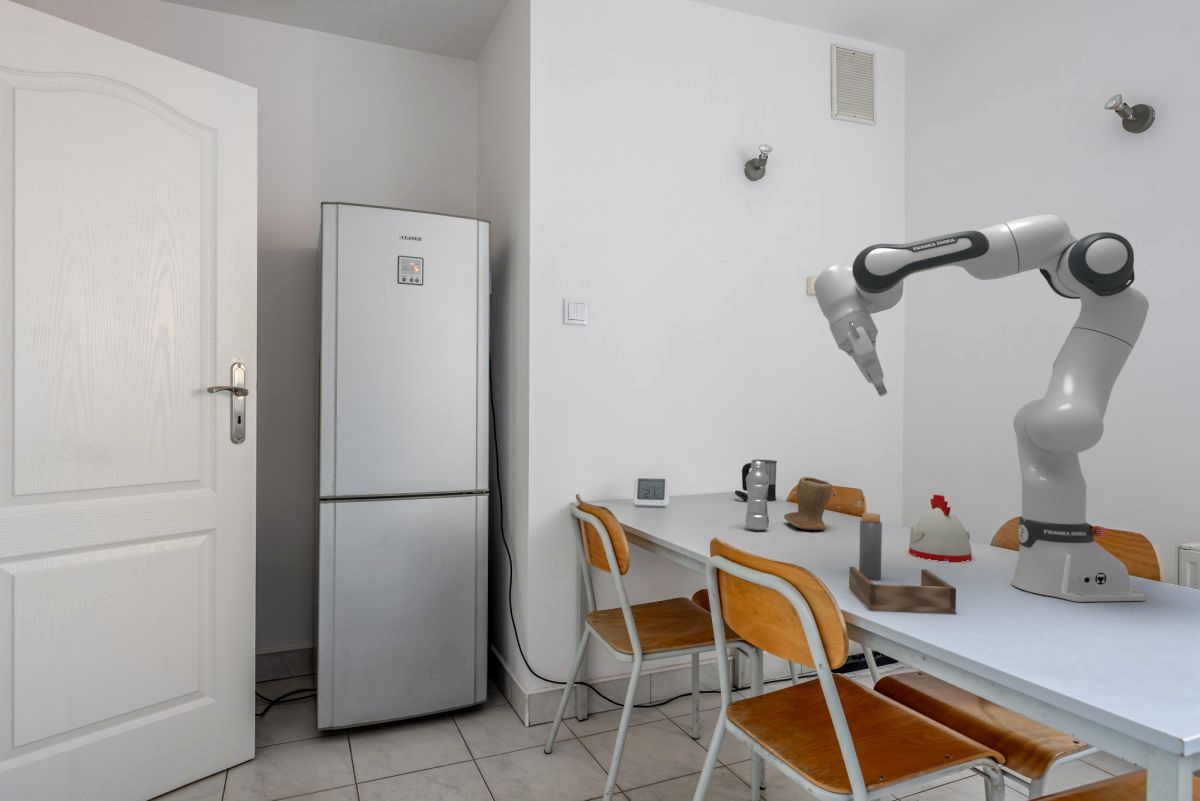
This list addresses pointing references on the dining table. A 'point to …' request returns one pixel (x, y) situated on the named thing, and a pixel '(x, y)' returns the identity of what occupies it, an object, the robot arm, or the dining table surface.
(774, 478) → the milk frother
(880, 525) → the grey bottle with cap
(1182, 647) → the dining table surface
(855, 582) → the box
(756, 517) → the plastic bottle
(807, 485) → the brown flared piece
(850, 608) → the dining table surface
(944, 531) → the kitchen timer
